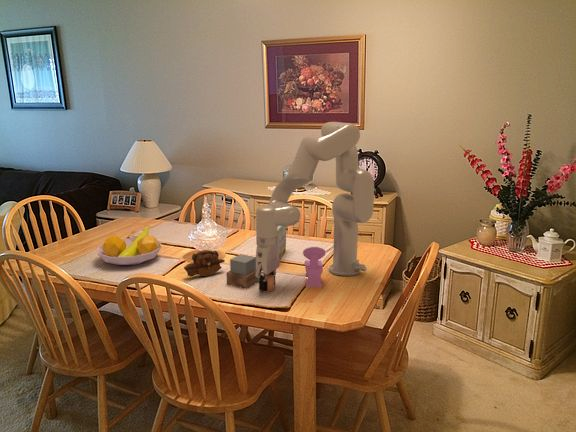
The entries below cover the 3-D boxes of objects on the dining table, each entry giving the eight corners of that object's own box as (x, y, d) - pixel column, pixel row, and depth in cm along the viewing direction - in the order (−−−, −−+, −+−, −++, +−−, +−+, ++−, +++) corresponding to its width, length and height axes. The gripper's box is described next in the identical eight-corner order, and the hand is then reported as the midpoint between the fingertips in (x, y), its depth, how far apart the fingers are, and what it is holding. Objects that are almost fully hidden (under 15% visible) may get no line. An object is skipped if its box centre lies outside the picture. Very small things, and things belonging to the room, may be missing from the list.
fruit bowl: (127, 275, 187) (124, 248, 184) (84, 262, 201) (81, 236, 198) (179, 256, 210) (177, 231, 207) (137, 245, 224) (135, 222, 221)
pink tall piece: (323, 277, 186) (324, 241, 182) (325, 286, 177) (326, 248, 174) (301, 278, 186) (302, 241, 182) (302, 286, 177) (303, 248, 173)
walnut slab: (259, 281, 183) (259, 269, 181) (246, 289, 175) (246, 277, 174) (240, 277, 187) (240, 265, 185) (226, 285, 179) (226, 272, 178)
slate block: (256, 269, 181) (256, 257, 180) (245, 275, 175) (245, 262, 174) (241, 266, 184) (241, 254, 183) (230, 272, 178) (230, 259, 177)
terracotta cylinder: (276, 288, 176) (276, 275, 175) (269, 292, 172) (269, 279, 170) (264, 285, 178) (264, 272, 177) (257, 290, 174) (257, 277, 173)
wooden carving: (188, 281, 181) (187, 257, 179) (183, 278, 185) (182, 253, 182) (227, 272, 191) (226, 249, 188) (221, 269, 194) (220, 246, 192)
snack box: (276, 267, 197) (276, 232, 193) (263, 266, 198) (263, 231, 195) (286, 251, 217) (287, 218, 214) (274, 250, 218) (274, 218, 215)
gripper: (263, 248, 161) (264, 298, 166) (287, 235, 176) (287, 281, 180) (245, 245, 165) (245, 294, 169) (269, 232, 179) (270, 278, 184)
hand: (267, 287), depth 175 cm, fingers closed on terracotta cylinder, 5 cm apart
